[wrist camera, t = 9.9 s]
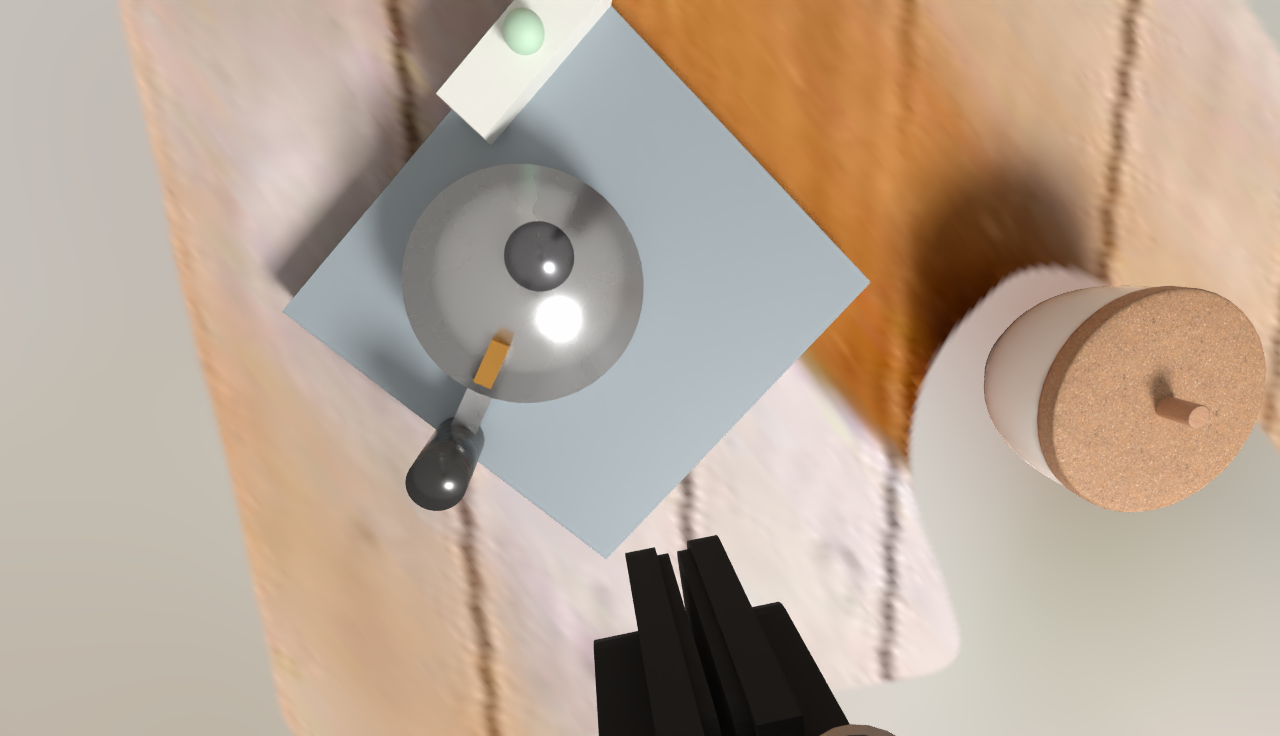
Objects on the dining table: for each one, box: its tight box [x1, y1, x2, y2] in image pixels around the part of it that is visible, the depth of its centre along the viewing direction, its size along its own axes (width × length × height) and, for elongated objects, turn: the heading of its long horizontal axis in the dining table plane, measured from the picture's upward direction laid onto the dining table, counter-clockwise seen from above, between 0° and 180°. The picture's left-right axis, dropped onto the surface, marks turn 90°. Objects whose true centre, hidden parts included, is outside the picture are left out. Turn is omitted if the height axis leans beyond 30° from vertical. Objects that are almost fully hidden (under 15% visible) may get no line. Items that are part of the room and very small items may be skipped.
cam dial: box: [402, 164, 644, 511], centre depth 26 cm, size 15×10×5 cm
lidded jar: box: [984, 285, 1266, 512], centre depth 30 cm, size 11×11×9 cm
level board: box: [282, 0, 870, 559], centre depth 27 cm, size 20×20×6 cm
